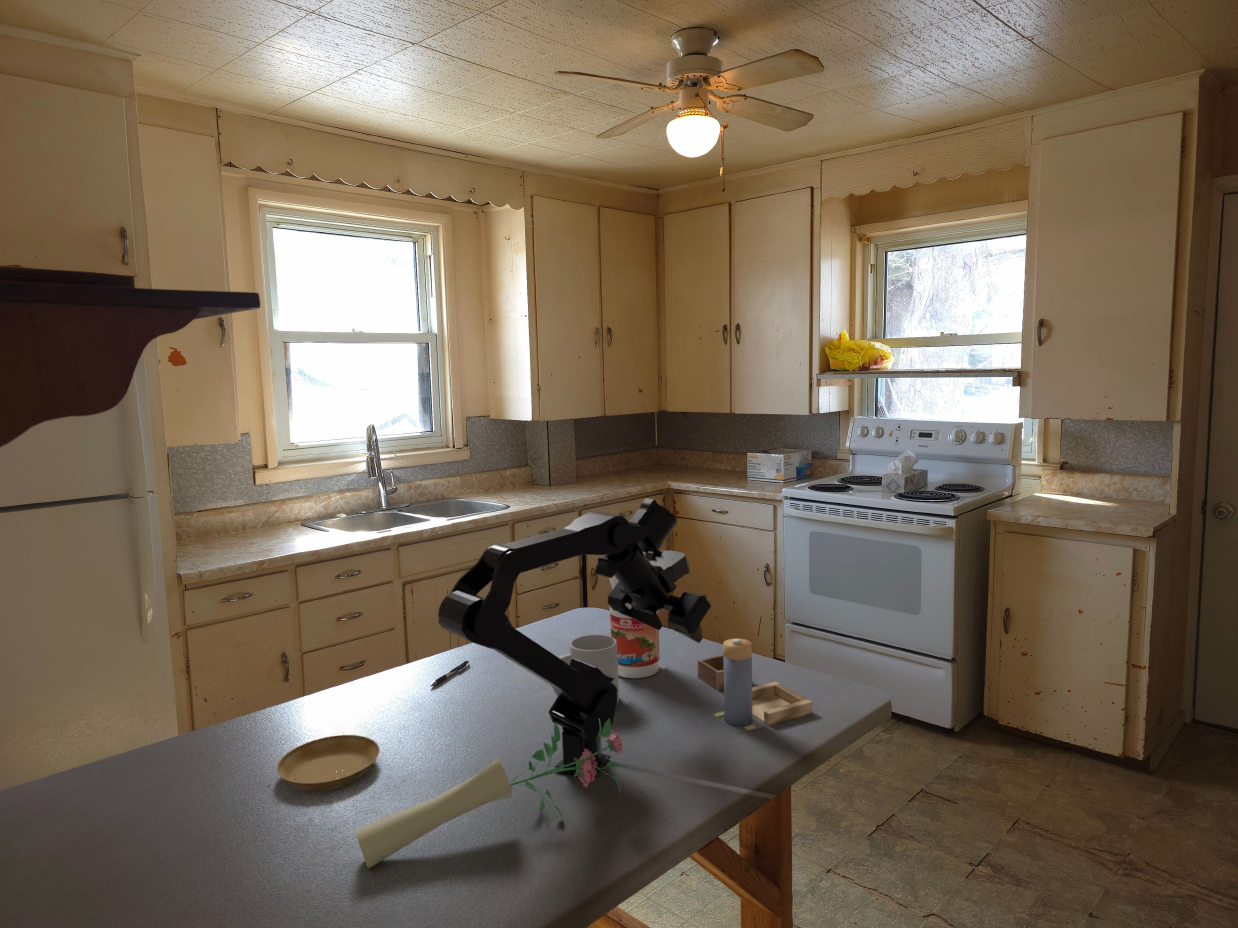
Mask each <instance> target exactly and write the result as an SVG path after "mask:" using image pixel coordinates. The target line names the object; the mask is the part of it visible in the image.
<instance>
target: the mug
mask: <svg viewBox="0 0 1238 928" xmlns="http://www.w3.org/2000/svg"><path fill="white" fill-rule="evenodd" d="M558 658H560V659H561V660H563V661H564V662H566V663H567V664H569V665H570V662H571V659H572V658H575V659H577V660H580V661H582V662H585V663H587V664H590V665H592V666H595V667H597V668H598V669H599V670H601V671H602V673H603V674H605V675H607V676H610V677H612V678H614V680H613V681H612V682H611V683H613V684H614V685H615V686H616V687H617V689H618V692H617V704H619V701H620V689H619V676H618V657H617V641H616V640H615V639H614V638H612V637H611V635H604V634H587V635H586V634H585V635H582V636H578V637H575V638H574V639H572V640H571V641H570V643H569V653H568V654H564V655H561V656H559V657H558Z"/></svg>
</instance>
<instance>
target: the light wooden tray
mask: <svg viewBox="0 0 1238 928" xmlns="http://www.w3.org/2000/svg"><path fill="white" fill-rule="evenodd" d="M812 714H813V701H812V700H810V699H808V698H806V697H804V696H802V695H801V694H799V693H797V692H795V691H794V690H792V689H790V688H788V687H787V686H784V685H783V684H782V683H780V682H778V681H772V682H769V683H764V684H760V685H757V686H752V716H753V717H755V718H757V719H758V720H760V721H761V722H763V723H764V724H766V725H767V727H768V726H773V725H777V724H780V723H783V722H787V721H792V720H795V719H798V718H802V717H805V716H809V715H812Z"/></svg>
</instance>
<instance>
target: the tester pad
mask: <svg viewBox="0 0 1238 928" xmlns="http://www.w3.org/2000/svg"><path fill="white" fill-rule="evenodd" d="M711 716H712V717H713V718H714V719H716V721H718V722H720V723H721V724H723V725H724V726H725V727H727V728H728V729H730V730H731V731H732V732H733V733H736V734H737V735H738V734H742V733H747V732H750V731H755V730H758V729H761V728H765V727H768V725H767V724H765V723H763V722H762V721H760V720H759V719H757V718H756V717H754V716H753V715H752V717H753V721H752V723H751V724H749V725H746V726H733V725H729V724H727V723H726V722H725V717H724V710H723V711H718V712H715V713H711V714H710V717H711Z"/></svg>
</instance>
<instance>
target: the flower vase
mask: <svg viewBox="0 0 1238 928" xmlns="http://www.w3.org/2000/svg"><path fill="white" fill-rule="evenodd" d="M599 723H600V719H599ZM553 725H554V726H553V734H552V733H551V738H550V739H551V745H550V744H549V743H546V742H543V748H544V749H540V750H536V751H535V752H534V753H533V755H532V756H531V758H533V759H534V760H537V761H538V762H537V763H536V764H535V765H533V763H532V761H531V760H529V761H528V769H527V770H526V771H524V772H522V773H521V774H519V775H518V776H516V777H514V778H513V779H512V780H511V781H510V780H509V777H508V776H507V774H506V772H505V769H504V767H503V764H502V762H501V759H500V757H498V758H495V760H494V761H492V762H491V763H490V764H489V765H488V766H486V767H485V768H483V769H482V770H481V771H479V772H478V773H477V774H474V775H473V776H471V777H470V778H468V779H467V780H465V781H463V782H461V783H459V784H457V785H455V786H454V787H452V788H450V789H448V790H446V791H443V792H442V793H440V794H439V795H436V796H434V797H433V798H431V799H428V800H425V801H423V802H420V803H419V804H416V805H413V806H411V807H408V808H405V809H403V810H401V811H398V812H395V813H393V814H390V815H388V816H386V817H384V818H381V819H379V820H376V821H374V822H371V823H369V824H366V825H363V826H362V827H359V828H357V829H355V830H354V832H355V835H356V838H357V842H358V845H359V847H360V851H361V853H362V856H363V859H364V862H365V864H366V866H367V867H366V868H367V869H370V868H373V867H374V866H375V865H376V864H379V863H380V862H383V861H384V860H386V859H387V858H389V857H390V856H392V855H394V854H396V853H397V852H398V851H400V850H402V849H403V848H405V847H407V846H409V845H411V844H412V843H414V842H416V841H418V840H419V839H421V838H422V837H424V836H425V835H428V834H429V833H430V832H432V831H434V830H436V829H438V828H439V827H440V826H442V825H444V824H446V823H448V822H450V821H452V820H455V819H456V818H459V817H461V816H463V815H466V814H468V813H470V812H472V811H474V810H476V809H478V808H481V807H483V806H485V805H487V804H492V803H495V802H498V801H502V800H506V799H510V798H512V793H513V787H512V786H515V785H516V786H519V787H520V786H521V783H524V782H525V783H524V784H523V786H525V787H526V788H528V789H529V790H532V791H534V792H535V793H537V792H538V793H539V794H540V796H541V799H540V804H539V809H538V812H542V811H544V809H545V807H546V803H547V804H548V805H549V806H551V807H554V808H555V809H556V810H557V811H558V814H559V815H560V818H561V820H562V822H563V823H565V821H564V818H563V815H562V813H561V810H560V808H558V806H557V805H555V804H551V803H549V801H547V799H546V797H544V795H546V796H547V797H548V798H549V799H550V800H551V802H552V803H554V800H553V798H552V795H551V791H550V790H549V789H546V791H545V792H543V793H542V790H541V789H538V788H537V787H536V786H535V785H533V784H532V783H531V782H529V781H532V780H534V779H537V778H541V777H544V776H549V775H553V774H557V773H562V772H561V771H567V770H573V769H576V773H575V775H573V778H575V777H578V779H579V780H580V781H581V783H583V784H582V786H583V787H585V789H587V788H588V786H589V785H590V783H591V782H594V781H595V779H596V775H597V774H598V773H597V772H596V770H595V769H594V768H595V767H596V766H597V763H596V762H595V761H594V760H595V757H594V755H596V754H598V753H600V752H601V753H603V752H604V751H605V750H607V749H609V753H611V752H615V753H616V754H617V755H621V753H623V749H624V748H623V742H622V740H623V739H622V738H621V736H620V735H619V734H618V732H616V731H614V730H612V727H611V722H610V718H609V719H608V720H607V721H606V722H605V724H604V726H603V729H602V730H601V724H600V730H599V734H598V736H601V740H600V741H601V742H602V739H603V738H608V739H606V742H607V746H605V747H603V748H601V749H602V750H600V751H598V752H596V753H594V754H592V753H591V751H590V752H589V751H588V749H587V750H586V749H585V750H584V751H585V752H582V754H583V755H582V756H581V757H580V759H579V760H578V759H577V758H574V759H575V762H573V763H570V764H567V765H564V766H561V767H558V768H555V767H554V768H552V769H549V770H547V769H548V768H549V766H550V764H551V761H552V757H553V754H554V753H555V752H557V751H558V744H557V743H558V742H559V741H561V732H560V728H559V727H558V726H559V725H558V724H556V723H553ZM611 732H612V733H611ZM598 736H597V739H598ZM597 743H598V741H597ZM599 743H600V742H599ZM598 747H599V744H598ZM544 752H545V753H546V755H547V758H548V759H549V760H548V761H549V762H548V764H547V767H546V769H545V770H544V771H543V772H541V773H538V774H535V775H534V772H535V771H536V767H537V765H538V764H539V763H541V761H542V762H544V761H546V757H545V753H544ZM575 763H576V767H572V768H565V769H560V768H563V767H566V766H569V765H572V764H575ZM608 767H609V768H615V767H618V768H619V767H622V765H621V764H619V762H615V761H609V762H608V763H607V764H606V766H604V767H603V768H600V769H601V770H600V769H599V770H600V771H599V772H602V773H603V774H605V775H607V776H610V777H612V778H613V780H615V781H616V783H617V787H618V789H619V793H620V795H621V794H622V793H621V787H620V784H619V780H618V777H617V776H616V775H614V776H612V775H611V774H608V773H606V772H605V771H603V770H604V769H606V768H608ZM596 768H597V769H598V767H596ZM557 769H559V770H557ZM602 769H603V770H602ZM529 770H531V771H532V775H531V777H526V778H523V779H521V780H520V779H519V780H518V781H515V780H516V779H517V778H518V777H519V776H521V775H523V774H525V773H526V772H528V771H529ZM596 773H597V774H596ZM543 794H544V795H543ZM545 802H546V803H545Z"/></svg>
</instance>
